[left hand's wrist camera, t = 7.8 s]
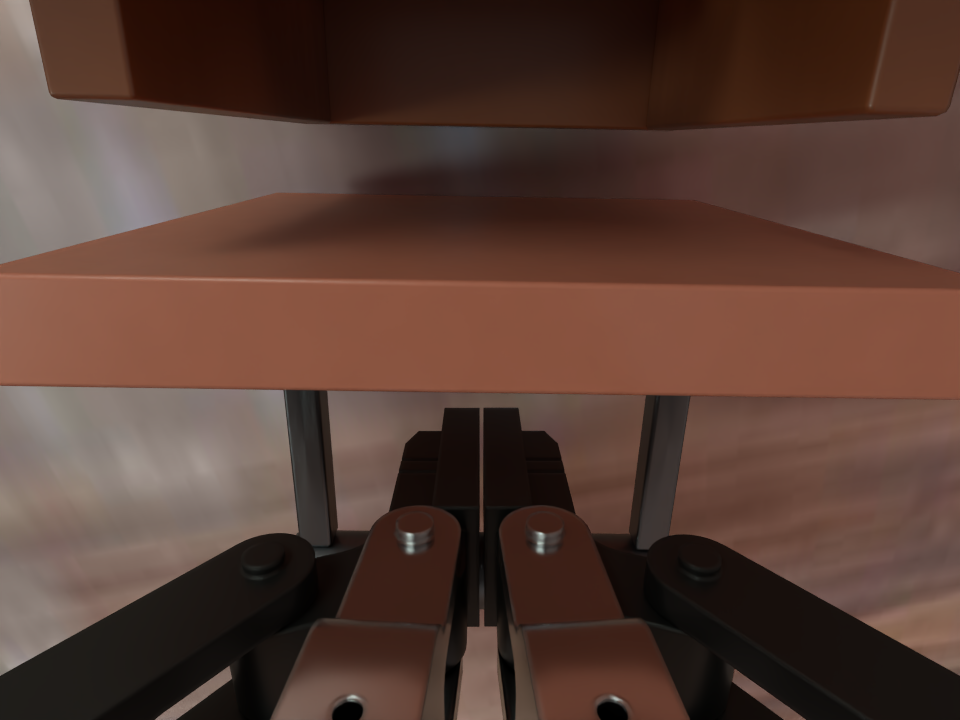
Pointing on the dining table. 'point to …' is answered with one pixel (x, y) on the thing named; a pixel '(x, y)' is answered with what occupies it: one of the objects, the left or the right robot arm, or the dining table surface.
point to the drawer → (492, 220)
